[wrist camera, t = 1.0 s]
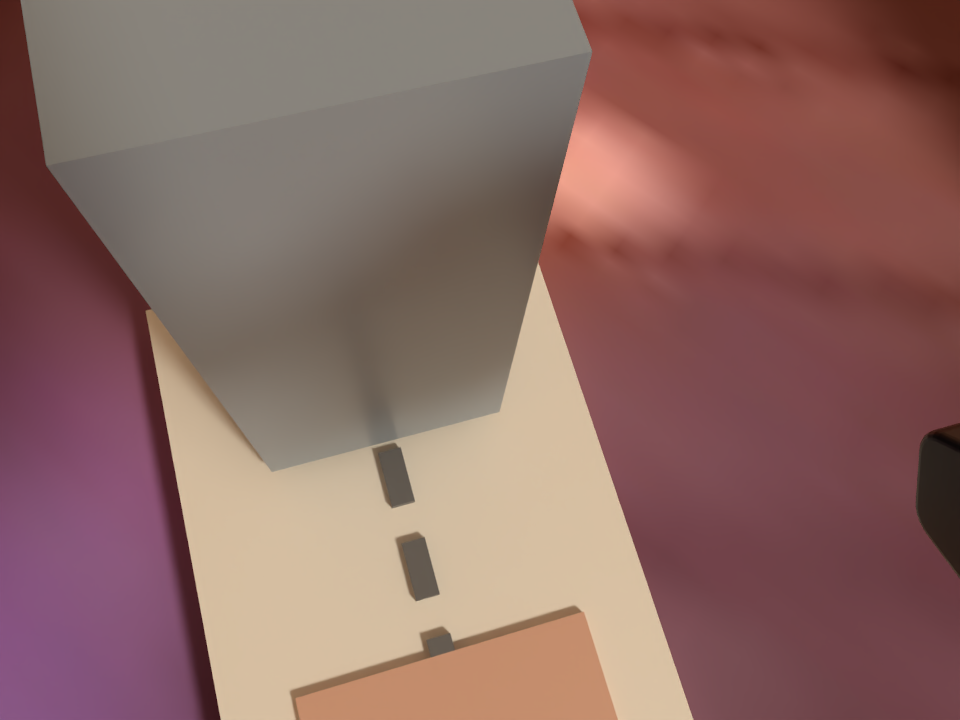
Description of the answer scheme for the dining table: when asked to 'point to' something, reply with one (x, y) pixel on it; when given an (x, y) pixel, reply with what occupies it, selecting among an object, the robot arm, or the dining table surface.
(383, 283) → the stub
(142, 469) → the dining table surface
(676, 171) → the dining table surface
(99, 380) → the dining table surface
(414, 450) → the pad
